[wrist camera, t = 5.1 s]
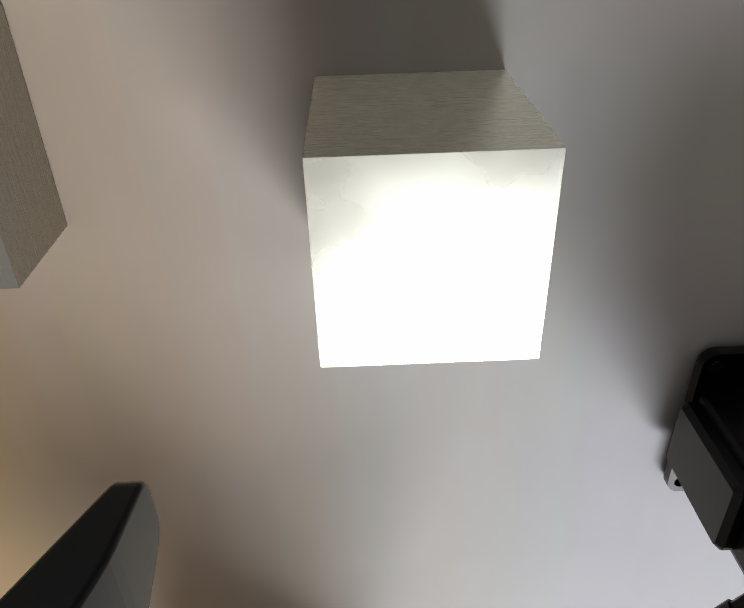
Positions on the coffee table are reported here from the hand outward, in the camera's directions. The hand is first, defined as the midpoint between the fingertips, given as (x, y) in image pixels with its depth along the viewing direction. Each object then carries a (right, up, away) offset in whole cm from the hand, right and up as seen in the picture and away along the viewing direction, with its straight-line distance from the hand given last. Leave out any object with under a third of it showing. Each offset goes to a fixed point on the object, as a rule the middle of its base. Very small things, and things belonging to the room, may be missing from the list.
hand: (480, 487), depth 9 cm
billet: (0, +7, +10) cm, 12 cm away
